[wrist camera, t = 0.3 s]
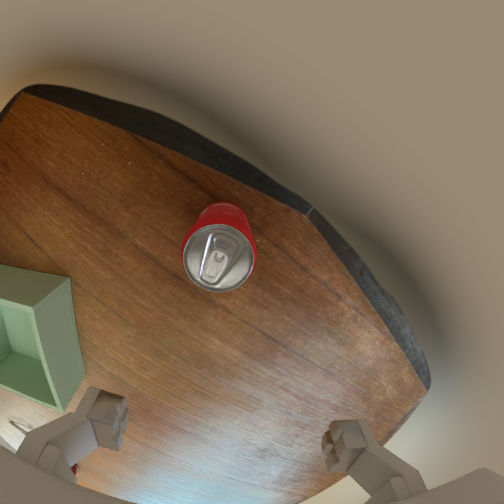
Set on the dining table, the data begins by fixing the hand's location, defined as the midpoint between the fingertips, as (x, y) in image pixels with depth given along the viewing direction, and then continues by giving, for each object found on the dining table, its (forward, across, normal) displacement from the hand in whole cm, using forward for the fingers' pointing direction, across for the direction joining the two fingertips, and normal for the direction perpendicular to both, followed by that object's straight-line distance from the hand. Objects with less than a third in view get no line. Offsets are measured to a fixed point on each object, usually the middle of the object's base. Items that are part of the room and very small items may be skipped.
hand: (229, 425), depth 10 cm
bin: (+22, +27, +15) cm, 38 cm away
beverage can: (+23, +2, -3) cm, 23 cm away
